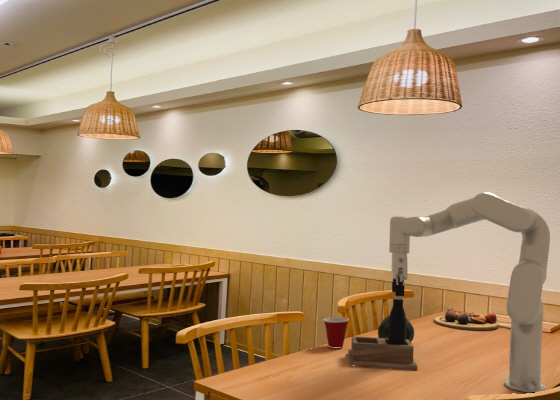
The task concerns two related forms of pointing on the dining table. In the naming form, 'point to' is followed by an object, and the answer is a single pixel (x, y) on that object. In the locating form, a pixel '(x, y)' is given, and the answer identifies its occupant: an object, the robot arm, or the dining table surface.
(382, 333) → the squash
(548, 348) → the dining table surface
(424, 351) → the dining table surface
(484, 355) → the dining table surface
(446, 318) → the wooden plate with food
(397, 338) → the wine bottle
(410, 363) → the bottle rack
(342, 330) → the plastic cup
